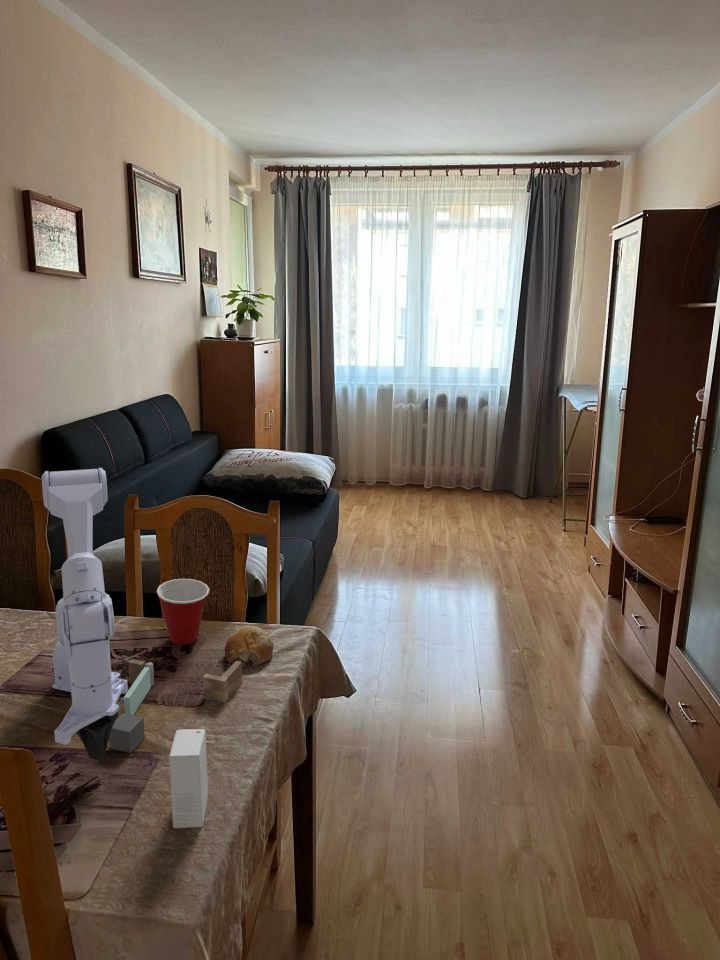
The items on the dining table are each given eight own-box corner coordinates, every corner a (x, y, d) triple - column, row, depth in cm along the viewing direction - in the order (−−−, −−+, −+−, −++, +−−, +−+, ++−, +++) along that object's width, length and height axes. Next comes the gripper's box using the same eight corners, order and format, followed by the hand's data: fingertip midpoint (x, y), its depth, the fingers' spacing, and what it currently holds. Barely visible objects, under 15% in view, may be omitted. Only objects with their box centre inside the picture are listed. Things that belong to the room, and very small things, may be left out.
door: (142, 681, 128) (141, 661, 127) (155, 682, 128) (154, 662, 127) (118, 718, 117) (116, 697, 116) (131, 719, 117) (130, 697, 116)
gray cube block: (109, 748, 110) (107, 727, 109) (124, 733, 114) (122, 713, 113) (130, 753, 109) (129, 732, 108) (144, 738, 113) (143, 717, 112)
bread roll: (277, 672, 141) (288, 634, 142) (247, 672, 132) (259, 632, 133) (241, 657, 146) (252, 621, 147) (210, 657, 137) (222, 619, 138)
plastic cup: (186, 657, 138) (184, 603, 135) (148, 642, 143) (145, 591, 140) (221, 635, 147) (220, 585, 144) (184, 623, 152) (182, 574, 149)
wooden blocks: (130, 683, 128) (128, 662, 127) (151, 664, 135) (150, 644, 134) (225, 703, 123) (224, 681, 122) (242, 682, 130) (242, 661, 128)
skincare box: (179, 798, 99) (176, 728, 96) (208, 797, 100) (206, 727, 97) (171, 829, 94) (168, 756, 90) (202, 828, 94) (200, 755, 91)
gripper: (81, 710, 92) (88, 793, 96) (142, 658, 106) (146, 733, 109) (38, 700, 94) (47, 782, 97) (104, 651, 107) (109, 725, 111)
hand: (97, 756), depth 103 cm, fingers closed
